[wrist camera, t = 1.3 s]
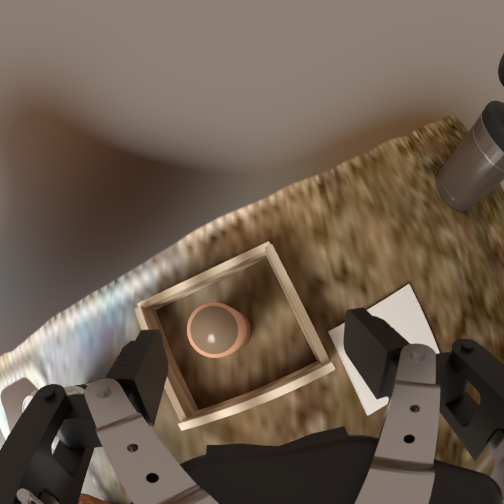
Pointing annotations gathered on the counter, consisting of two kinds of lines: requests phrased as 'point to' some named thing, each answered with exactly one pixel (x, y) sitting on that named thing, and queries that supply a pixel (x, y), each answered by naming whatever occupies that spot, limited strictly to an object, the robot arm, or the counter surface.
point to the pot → (217, 330)
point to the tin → (90, 500)
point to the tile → (403, 321)
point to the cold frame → (196, 417)
